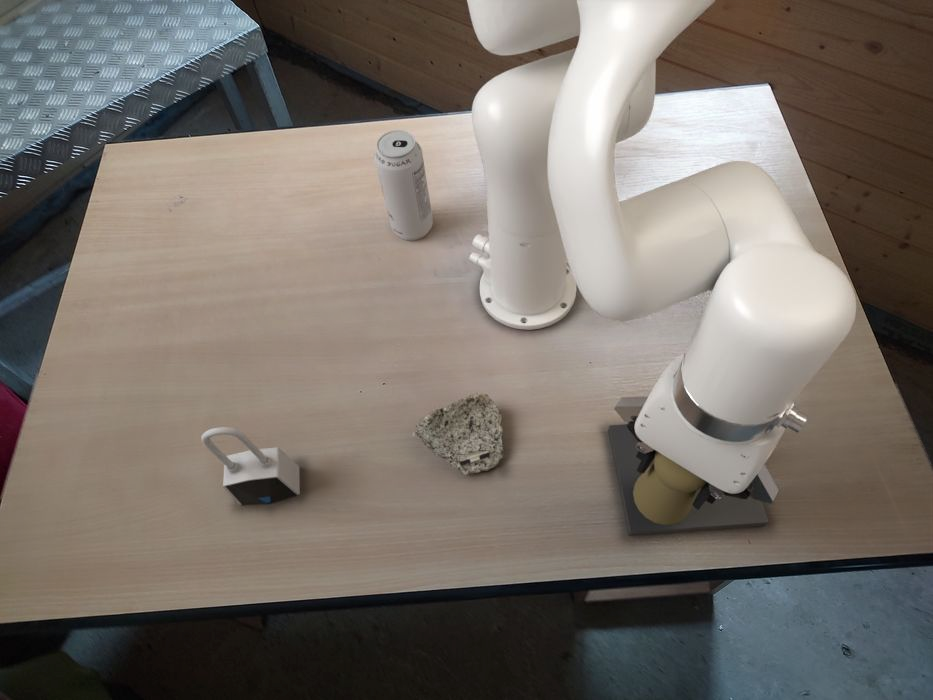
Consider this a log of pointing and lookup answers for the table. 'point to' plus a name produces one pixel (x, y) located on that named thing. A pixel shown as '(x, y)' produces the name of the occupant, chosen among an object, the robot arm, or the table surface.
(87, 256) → the table surface
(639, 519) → the grey flat block
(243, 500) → the padlock
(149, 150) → the table surface
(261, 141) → the table surface
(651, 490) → the pawn game piece
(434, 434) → the rock sample
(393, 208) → the energy drink can
